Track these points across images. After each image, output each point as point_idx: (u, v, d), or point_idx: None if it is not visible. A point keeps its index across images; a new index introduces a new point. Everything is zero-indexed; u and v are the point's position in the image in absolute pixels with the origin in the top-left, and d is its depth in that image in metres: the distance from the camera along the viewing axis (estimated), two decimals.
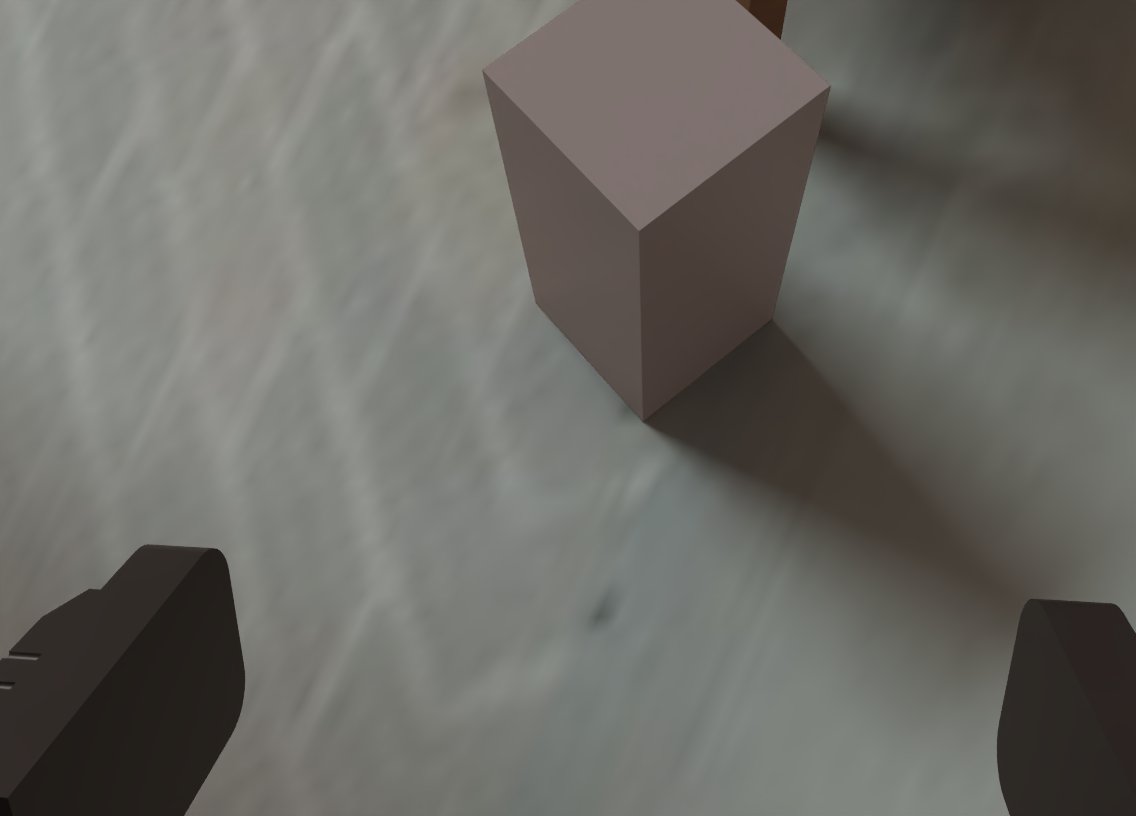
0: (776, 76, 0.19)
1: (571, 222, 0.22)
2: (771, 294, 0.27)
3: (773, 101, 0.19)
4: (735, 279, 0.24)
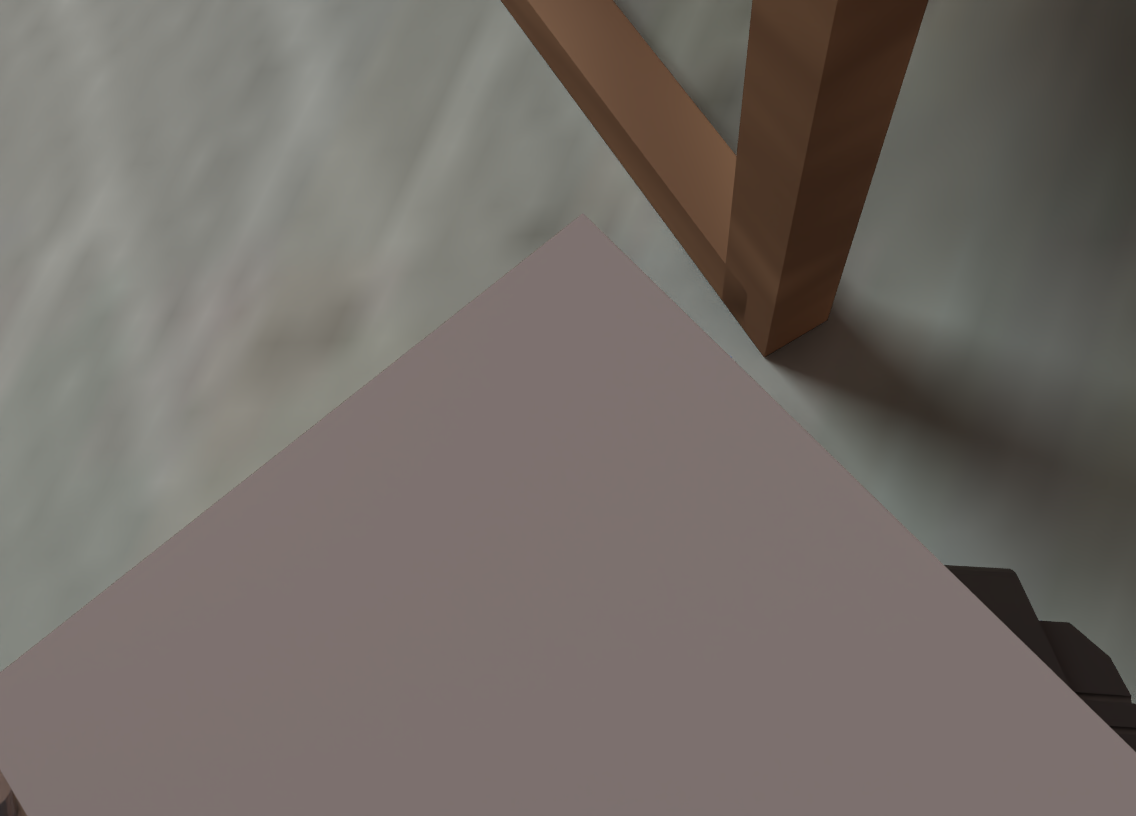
0: (977, 758, 0.05)
1: None
2: None
3: None
4: None
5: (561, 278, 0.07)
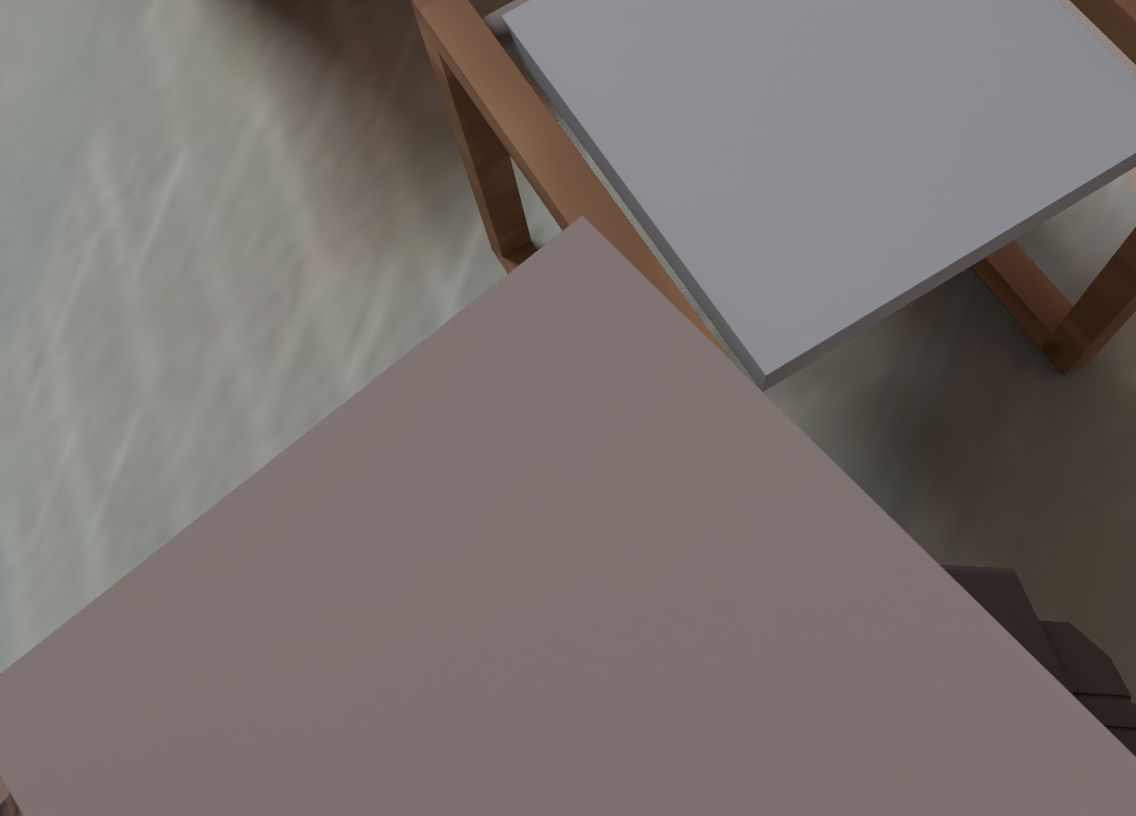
0: (977, 762, 0.05)
1: None
2: None
3: None
4: None
5: (560, 280, 0.07)
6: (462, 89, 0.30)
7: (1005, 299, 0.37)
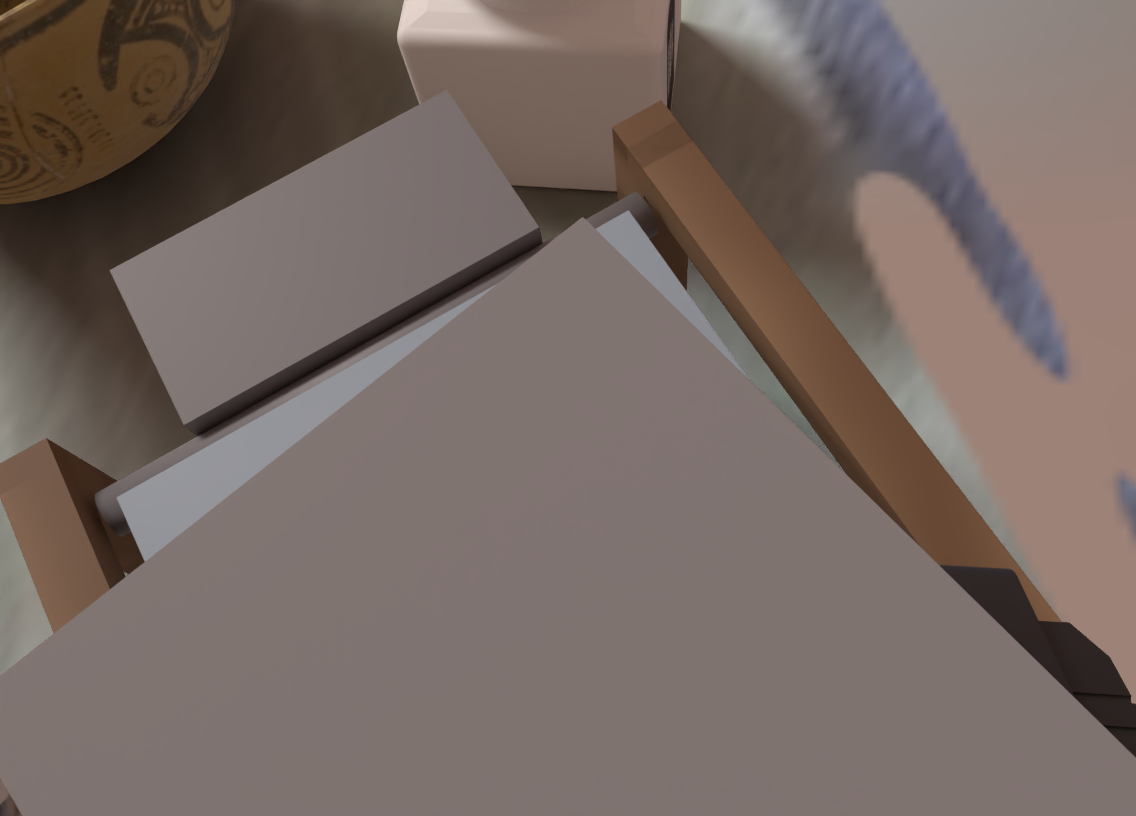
0: (978, 764, 0.05)
1: None
2: None
3: None
4: None
5: (560, 282, 0.06)
6: None
7: None
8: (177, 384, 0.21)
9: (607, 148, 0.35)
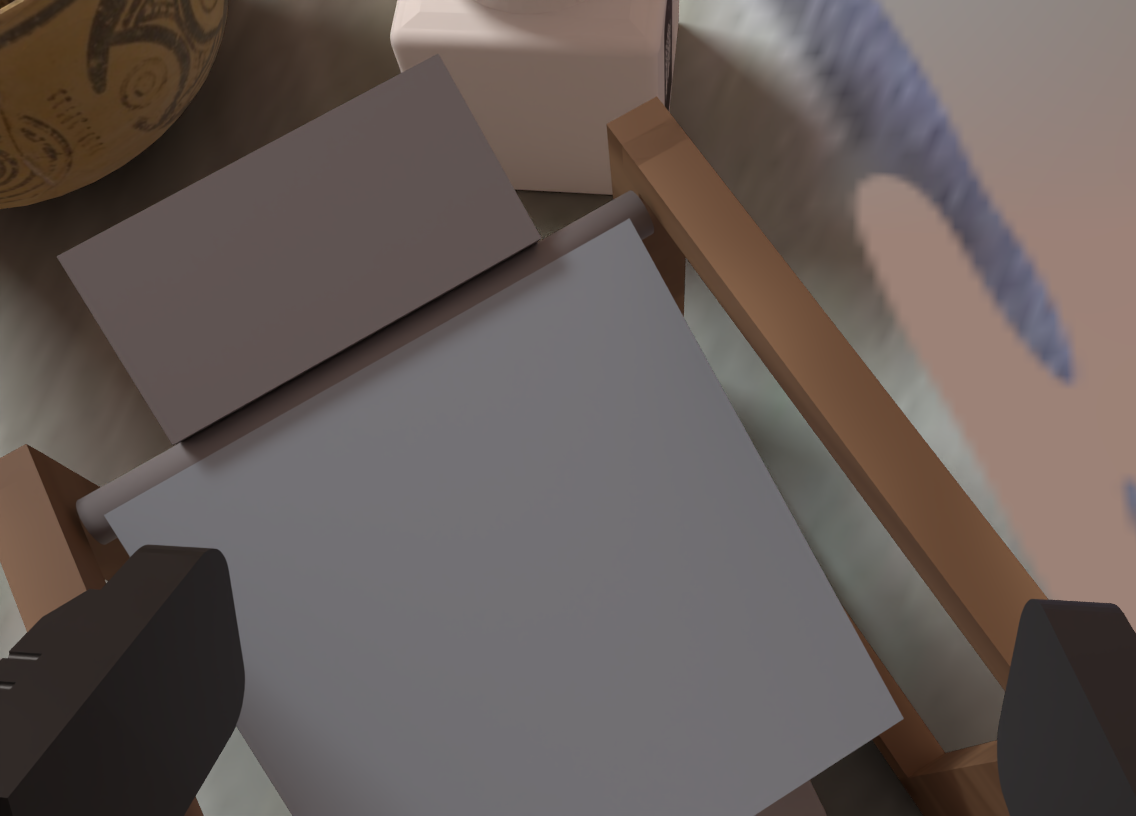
0: None
1: None
2: None
3: None
4: None
5: None
6: None
7: None
8: (158, 399, 0.20)
9: (604, 151, 0.34)
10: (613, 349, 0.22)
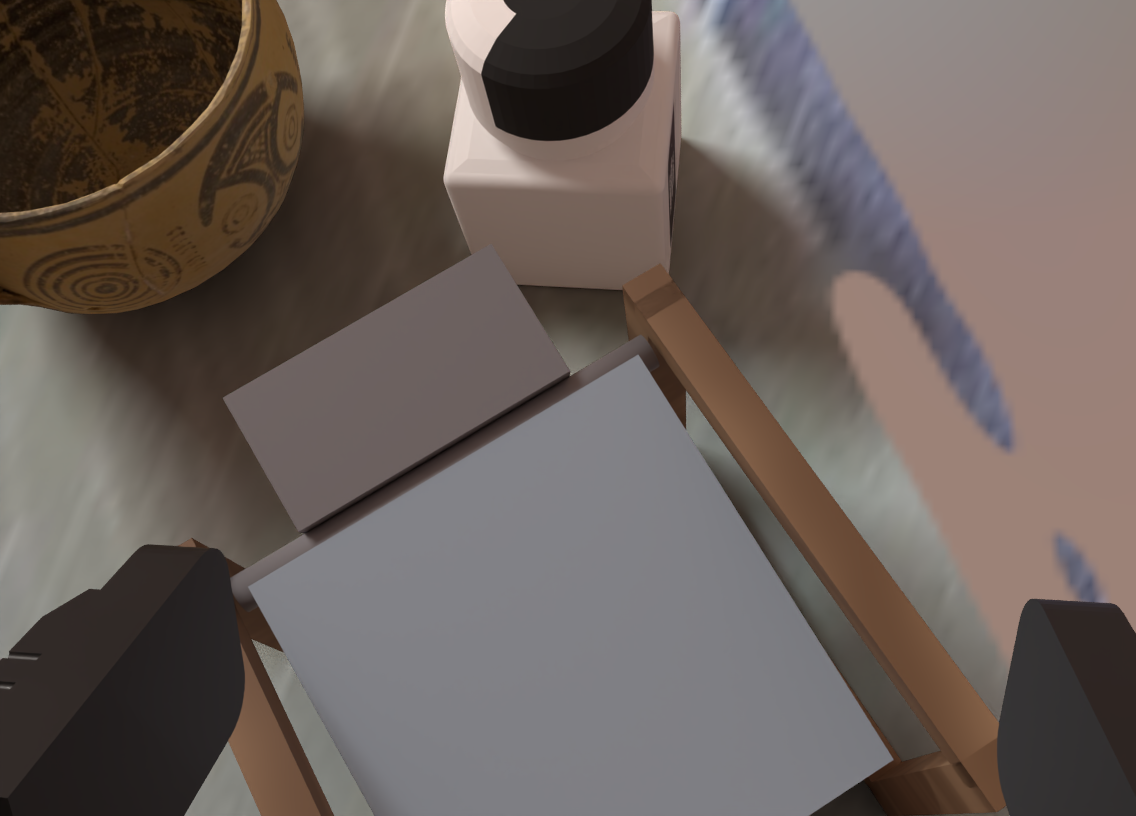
0: None
1: None
2: None
3: None
4: None
5: None
6: None
7: None
8: (289, 498, 0.27)
9: (619, 259, 0.41)
10: (629, 453, 0.28)
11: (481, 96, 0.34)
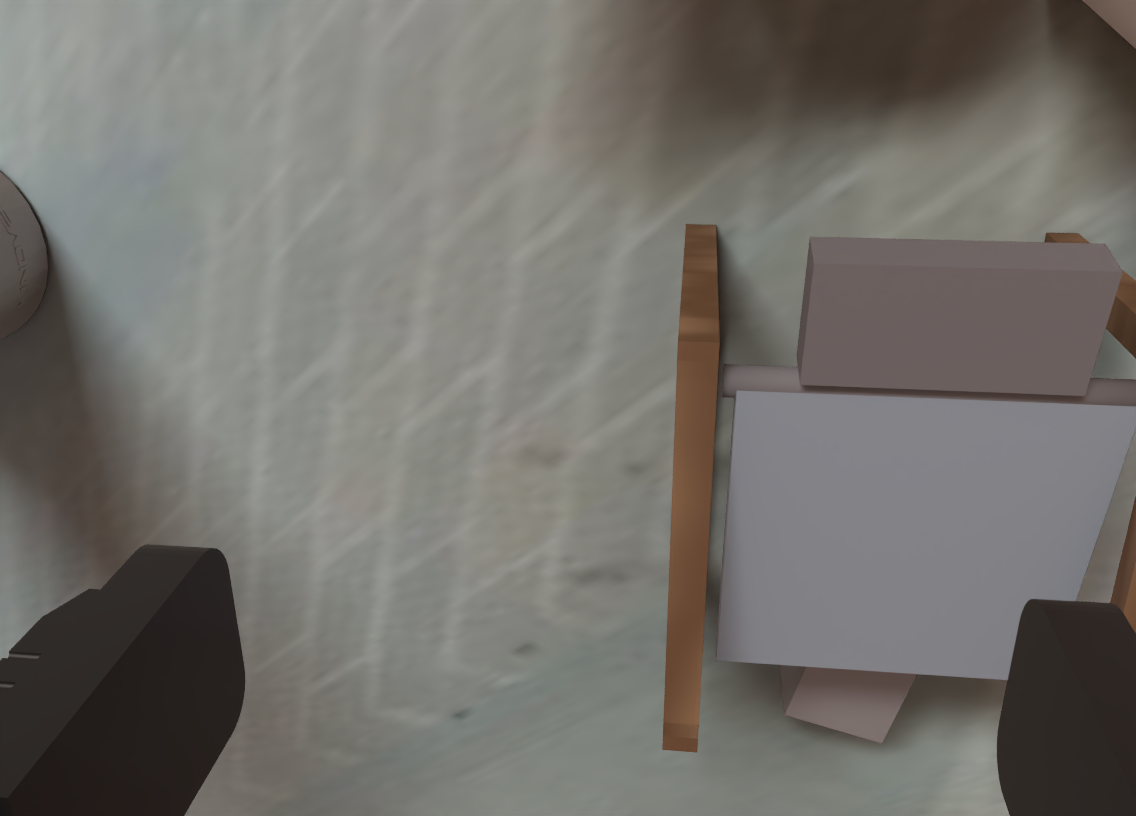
0: None
1: None
2: None
3: None
4: None
5: None
6: None
7: None
8: (810, 360, 0.31)
9: None
10: (1068, 461, 0.32)
11: None
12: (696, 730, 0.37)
